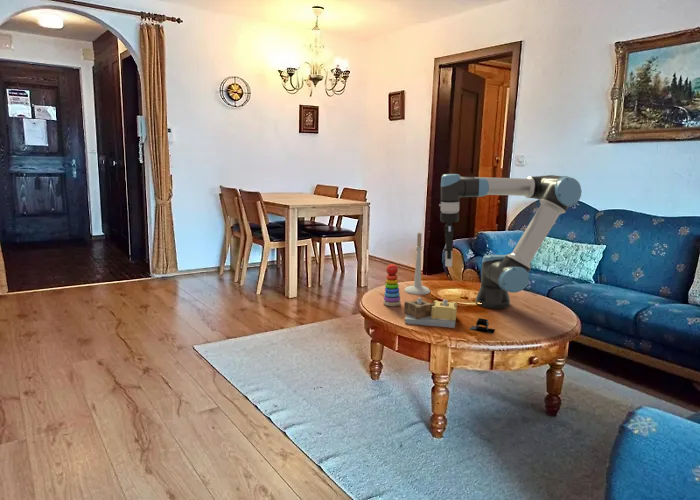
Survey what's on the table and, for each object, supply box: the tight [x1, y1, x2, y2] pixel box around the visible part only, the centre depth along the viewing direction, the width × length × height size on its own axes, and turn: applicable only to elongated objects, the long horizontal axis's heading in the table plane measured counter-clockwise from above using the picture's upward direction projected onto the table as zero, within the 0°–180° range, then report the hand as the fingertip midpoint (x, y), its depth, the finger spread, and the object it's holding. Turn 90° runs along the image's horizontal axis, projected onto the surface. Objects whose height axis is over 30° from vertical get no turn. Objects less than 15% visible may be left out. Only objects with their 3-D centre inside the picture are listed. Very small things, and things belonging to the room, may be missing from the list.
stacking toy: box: [383, 263, 402, 307], centre depth 227 cm, size 8×8×19 cm
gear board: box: [404, 296, 456, 329], centre depth 208 cm, size 20×14×9 cm
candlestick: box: [404, 232, 431, 296], centre depth 248 cm, size 13×13×30 cm
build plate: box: [468, 318, 496, 335], centre depth 198 cm, size 12×7×5 cm, turn 63°
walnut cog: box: [403, 298, 435, 319], centre depth 209 cm, size 10×10×5 cm
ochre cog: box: [431, 300, 458, 321], centre depth 206 cm, size 10×10×5 cm
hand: (448, 262), depth 209 cm, fingers open, 13 cm apart
